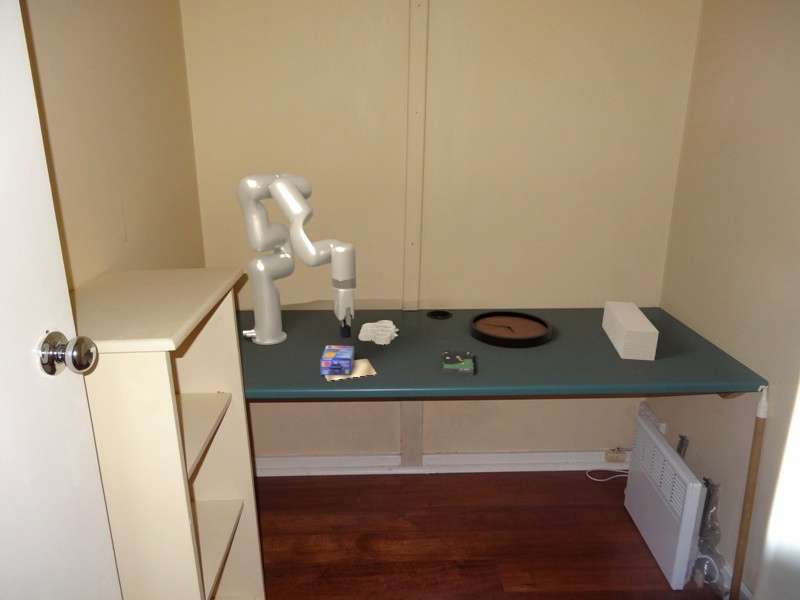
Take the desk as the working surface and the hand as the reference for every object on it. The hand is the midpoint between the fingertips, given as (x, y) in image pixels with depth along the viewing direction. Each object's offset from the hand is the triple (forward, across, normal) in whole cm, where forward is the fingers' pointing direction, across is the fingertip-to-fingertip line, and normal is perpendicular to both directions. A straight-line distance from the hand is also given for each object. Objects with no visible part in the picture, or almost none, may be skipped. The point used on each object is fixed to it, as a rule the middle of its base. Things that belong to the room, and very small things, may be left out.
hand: (345, 336), depth 176 cm
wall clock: (+11, -12, +67) cm, 69 cm away
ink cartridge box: (+8, -6, -1) cm, 9 cm away
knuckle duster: (+11, -24, +18) cm, 32 cm away
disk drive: (+11, +10, +36) cm, 39 cm away
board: (+11, +3, 0) cm, 11 cm away
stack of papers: (+11, +9, +104) cm, 105 cm away
